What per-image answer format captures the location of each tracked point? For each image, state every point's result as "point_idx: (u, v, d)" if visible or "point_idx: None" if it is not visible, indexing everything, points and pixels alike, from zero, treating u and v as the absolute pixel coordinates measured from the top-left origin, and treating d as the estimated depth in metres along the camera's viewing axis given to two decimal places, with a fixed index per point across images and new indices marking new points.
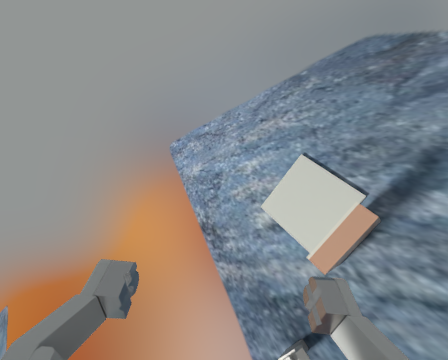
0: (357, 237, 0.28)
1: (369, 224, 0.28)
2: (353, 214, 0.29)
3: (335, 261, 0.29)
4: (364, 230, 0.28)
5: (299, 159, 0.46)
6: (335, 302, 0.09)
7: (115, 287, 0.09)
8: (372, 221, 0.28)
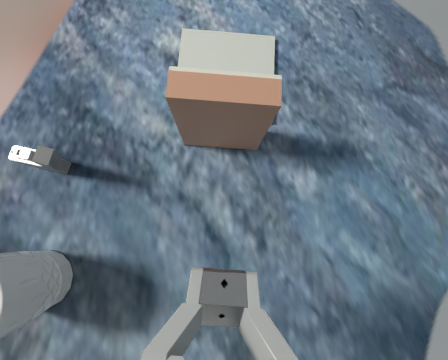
0: (240, 101, 0.19)
1: (265, 102, 0.20)
2: (264, 81, 0.20)
3: (192, 97, 0.19)
4: (254, 102, 0.19)
5: (267, 37, 0.34)
6: (236, 294, 0.09)
7: (217, 295, 0.09)
8: (271, 103, 0.20)
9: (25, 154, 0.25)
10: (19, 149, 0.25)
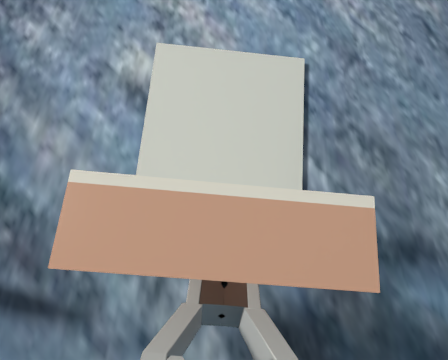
0: (266, 278, 0.07)
1: (335, 283, 0.07)
2: (329, 214, 0.07)
3: (127, 268, 0.07)
4: (305, 282, 0.07)
5: (293, 61, 0.21)
6: (237, 294, 0.09)
7: (217, 295, 0.09)
8: (351, 284, 0.07)
9: None
10: None
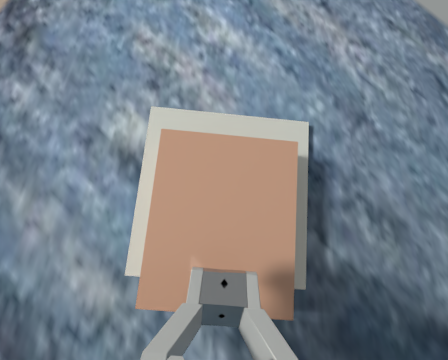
0: None
1: None
2: None
3: None
4: (266, 139, 0.17)
5: (296, 124, 0.20)
6: (236, 294, 0.09)
7: (217, 295, 0.09)
8: (285, 141, 0.17)
9: None
10: None
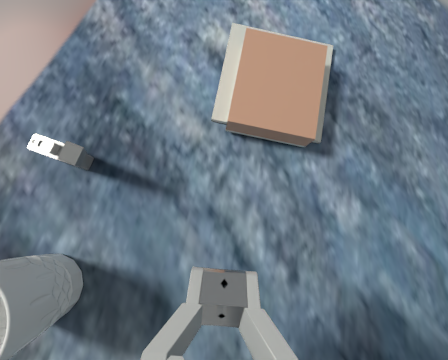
0: None
1: None
2: None
3: (264, 33, 0.27)
4: None
5: None
6: (236, 294, 0.09)
7: (217, 295, 0.09)
8: None
9: (48, 147, 0.22)
10: (41, 140, 0.22)
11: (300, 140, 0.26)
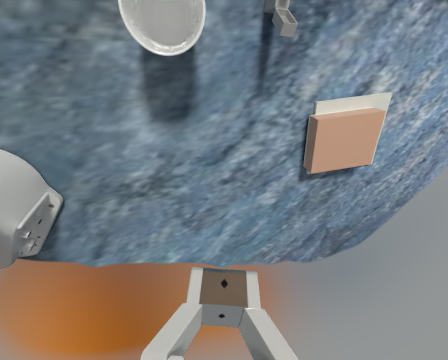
0: None
1: (371, 157, 0.42)
2: None
3: None
4: (373, 152, 0.42)
5: None
6: (236, 294, 0.09)
7: (217, 295, 0.09)
8: None
9: None
10: None
11: (308, 165, 0.42)
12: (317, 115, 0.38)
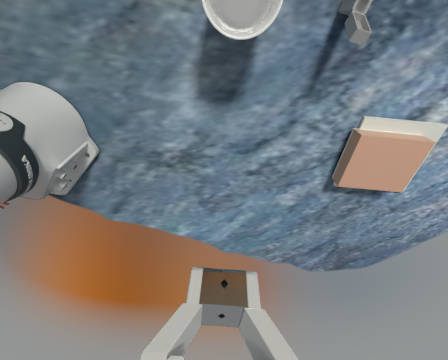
0: None
1: None
2: None
3: (426, 154, 0.37)
4: (408, 181, 0.40)
5: None
6: (236, 294, 0.09)
7: (217, 295, 0.09)
8: (404, 187, 0.41)
9: None
10: None
11: (337, 177, 0.41)
12: (361, 130, 0.37)
